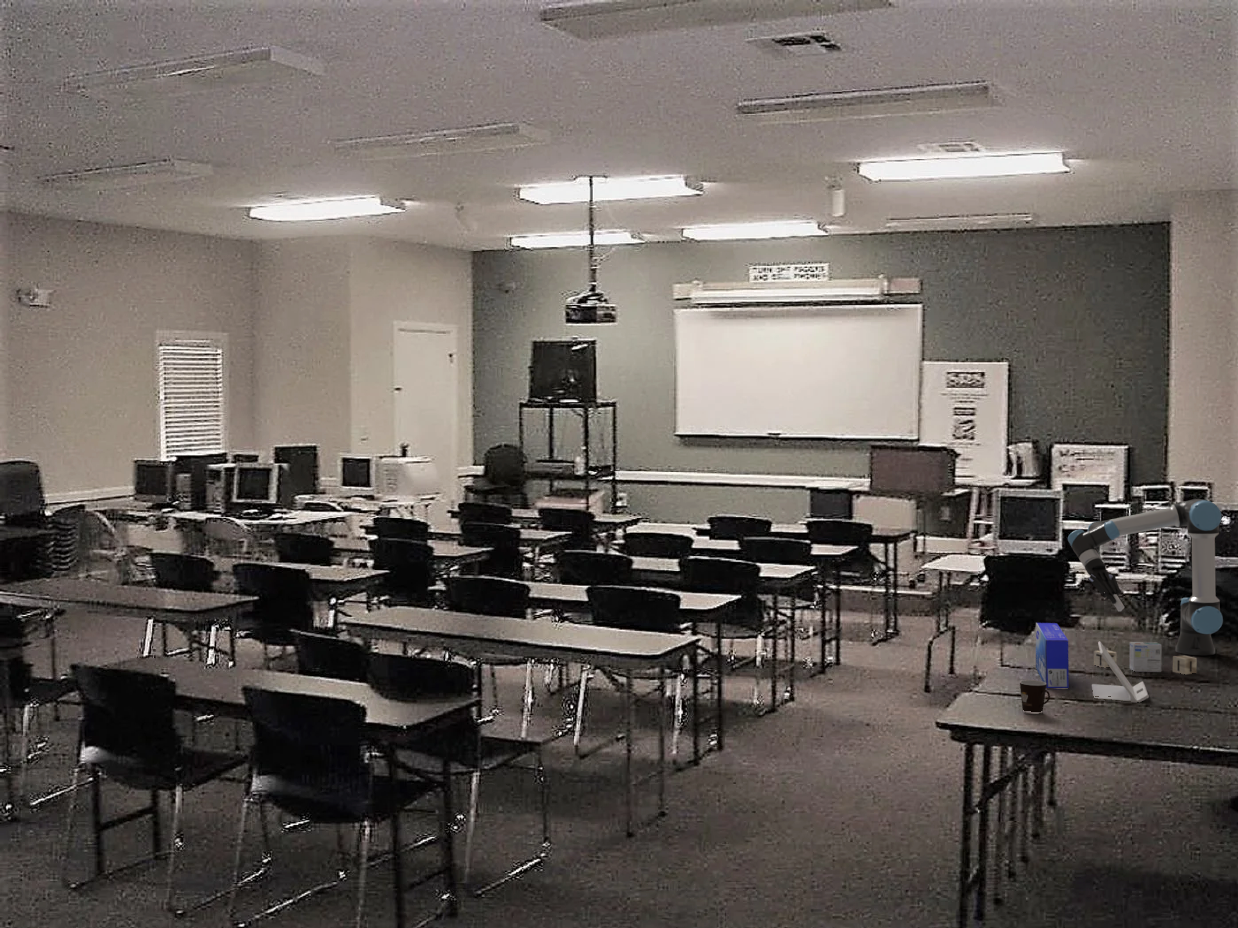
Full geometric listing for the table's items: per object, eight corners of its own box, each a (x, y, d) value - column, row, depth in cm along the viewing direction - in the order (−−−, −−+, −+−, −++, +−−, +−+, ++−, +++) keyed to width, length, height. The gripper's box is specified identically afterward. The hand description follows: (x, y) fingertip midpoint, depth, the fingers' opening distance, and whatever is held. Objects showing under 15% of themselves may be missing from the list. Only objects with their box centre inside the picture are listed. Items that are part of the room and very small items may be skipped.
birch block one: (1184, 670, 524) (1184, 655, 524) (1196, 673, 518) (1197, 658, 518) (1172, 671, 522) (1172, 656, 521) (1184, 674, 516) (1184, 659, 516)
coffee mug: (1016, 709, 455) (1016, 679, 455) (1041, 709, 455) (1042, 680, 454) (1025, 717, 443) (1026, 687, 443) (1051, 717, 443) (1052, 687, 443)
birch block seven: (1105, 664, 536) (1105, 649, 535) (1116, 667, 530) (1116, 652, 530) (1093, 665, 533) (1093, 650, 533) (1104, 668, 528) (1104, 653, 527)
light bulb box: (1156, 669, 527) (1157, 641, 526) (1161, 672, 520) (1162, 644, 520) (1128, 668, 528) (1129, 641, 528) (1133, 671, 521) (1133, 644, 521)
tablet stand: (1093, 700, 471) (1094, 651, 470) (1091, 686, 495) (1092, 640, 494) (1149, 703, 465) (1150, 654, 465) (1143, 689, 489) (1144, 642, 488)
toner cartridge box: (1034, 669, 527) (1035, 622, 526) (1057, 669, 525) (1058, 622, 524) (1044, 689, 489) (1045, 638, 488) (1068, 690, 487) (1069, 639, 486)
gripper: (1100, 568, 555) (1129, 614, 540) (1075, 569, 550) (1103, 615, 535) (1109, 556, 550) (1139, 602, 535) (1084, 557, 545) (1113, 604, 530)
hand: (1121, 609), depth 535 cm, fingers closed
